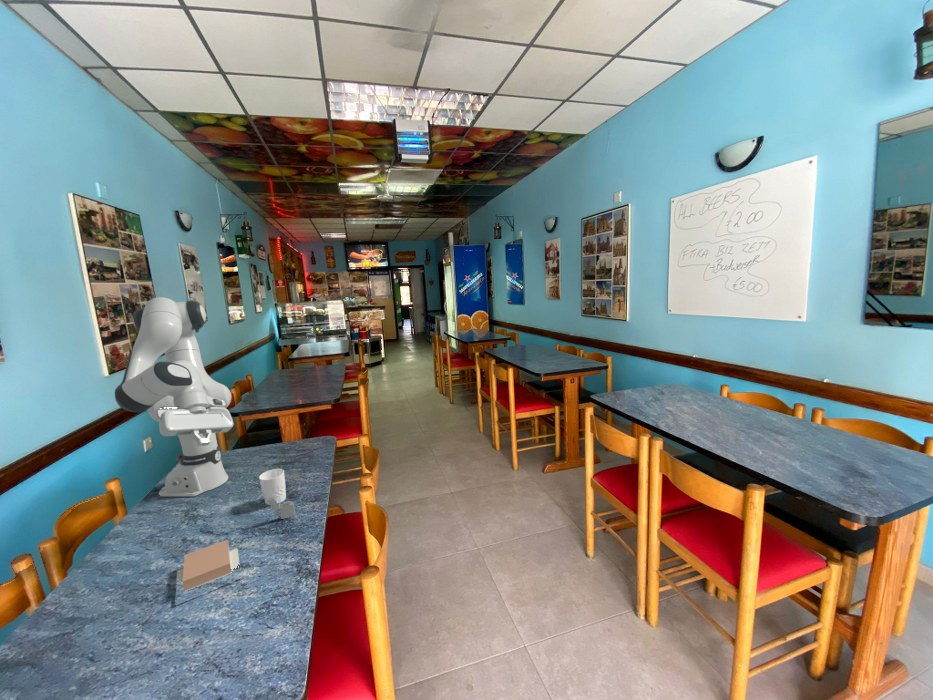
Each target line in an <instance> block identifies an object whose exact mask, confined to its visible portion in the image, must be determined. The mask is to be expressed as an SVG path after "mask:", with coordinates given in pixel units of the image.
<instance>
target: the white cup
mask: <svg viewBox="0 0 933 700" xmlns="http://www.w3.org/2000/svg"><path fill="white" fill-rule="evenodd" d="M258 479H259V483H260V487H261V493H262V495H263V500H264V503H265V505H267V506H271V505H270V504H269V503H268V499H269V498H271V497H272V498H273V499H274V500H275V501H276V502H277V503H279V504H281V503H283V502H285V500H286V499H287V494H286V493H287V492H286V488H287V487H286V477H285V470H284V468H283V469H282V468H273V469H269V470H266V471H264V472H262V473H261V474H260V475H259V476H258Z"/></svg>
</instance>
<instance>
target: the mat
mask: <svg viewBox="0 0 933 700" xmlns="http://www.w3.org/2000/svg"><path fill="white" fill-rule="evenodd" d="M229 552H230V562H231V569H232V571H233V569H234V568H235V569H236V568H237V566H238V564H239V565H240V566H241V564H240V563H239V562H240V556H239V549H238V548H234V549H231V550H229ZM238 568H239V566H238ZM179 570H180V572H179ZM179 575H180V577H179ZM178 578H179V581H181V582H182V581H183V568H181V569H178V570H177V571H176V580H175V587H176V586H177V585H176V584H177V582H179V581H177V579H178ZM181 578H182V580H181ZM181 582H180V583H181Z"/></svg>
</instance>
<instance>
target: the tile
mask: <svg viewBox="0 0 933 700" xmlns="http://www.w3.org/2000/svg"><path fill="white" fill-rule="evenodd" d="M229 551H230V546H229V541H228V539H225V540H223V541H219V542H217V543H215V544H211V545H209V546H206V547H203V548H200V549H197V550H194V551H192V552H189V553H186V554H184V557H183V558H184V559H183V568H182V569H183V581H182V582H183V587H184V591H185V592H186V591H188V590H190V589H193V588H195V587H198V586H201V585H203V584H206V583H208V582H211V581H214V580H216V579H219V578H221V577H224V576H226V575H228V574H231V573H232V572H231V562H230V552H229Z"/></svg>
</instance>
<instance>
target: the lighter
mask: <svg viewBox="0 0 933 700" xmlns="http://www.w3.org/2000/svg"><path fill="white" fill-rule="evenodd" d="M268 503H269V504H270V505H269V506H271V507H272V508H273V510H274V511H277V510H279V513H280V519H284V518H288V519H290V518H289V517H291V518H294V517H293V516H295V517H296V511H295V503H294V501H290V500H287V501H283V502H282V504H280V503H279V504H278V503H277V502H276V501H275V500H274V499H273V498H272V497H271V498H269V499H268ZM284 520H285V519H284Z"/></svg>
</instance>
